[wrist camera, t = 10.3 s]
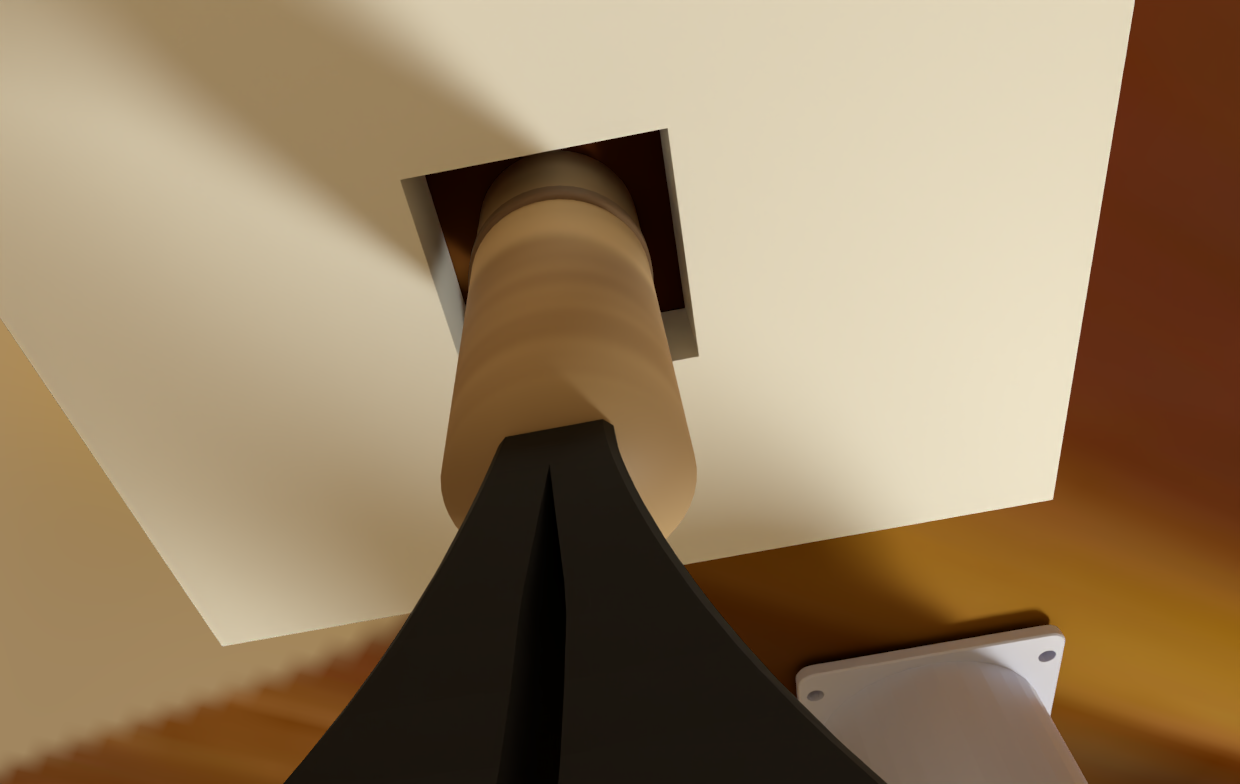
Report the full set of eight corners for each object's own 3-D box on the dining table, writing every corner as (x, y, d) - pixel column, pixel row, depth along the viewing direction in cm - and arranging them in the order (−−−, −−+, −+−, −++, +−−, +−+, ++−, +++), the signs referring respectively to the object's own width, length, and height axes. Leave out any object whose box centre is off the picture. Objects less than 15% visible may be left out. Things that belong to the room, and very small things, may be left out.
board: (1013, 447, 21) (1052, 499, 20) (246, 584, 22) (221, 646, 20) (1117, -399, 12) (1205, -431, 11) (-188, -125, 13) (-294, -116, 11)
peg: (655, 278, 18) (721, 546, 11) (506, 316, 18) (487, 600, 12) (618, 128, 16) (671, 345, 10) (452, 172, 16) (394, 414, 10)
